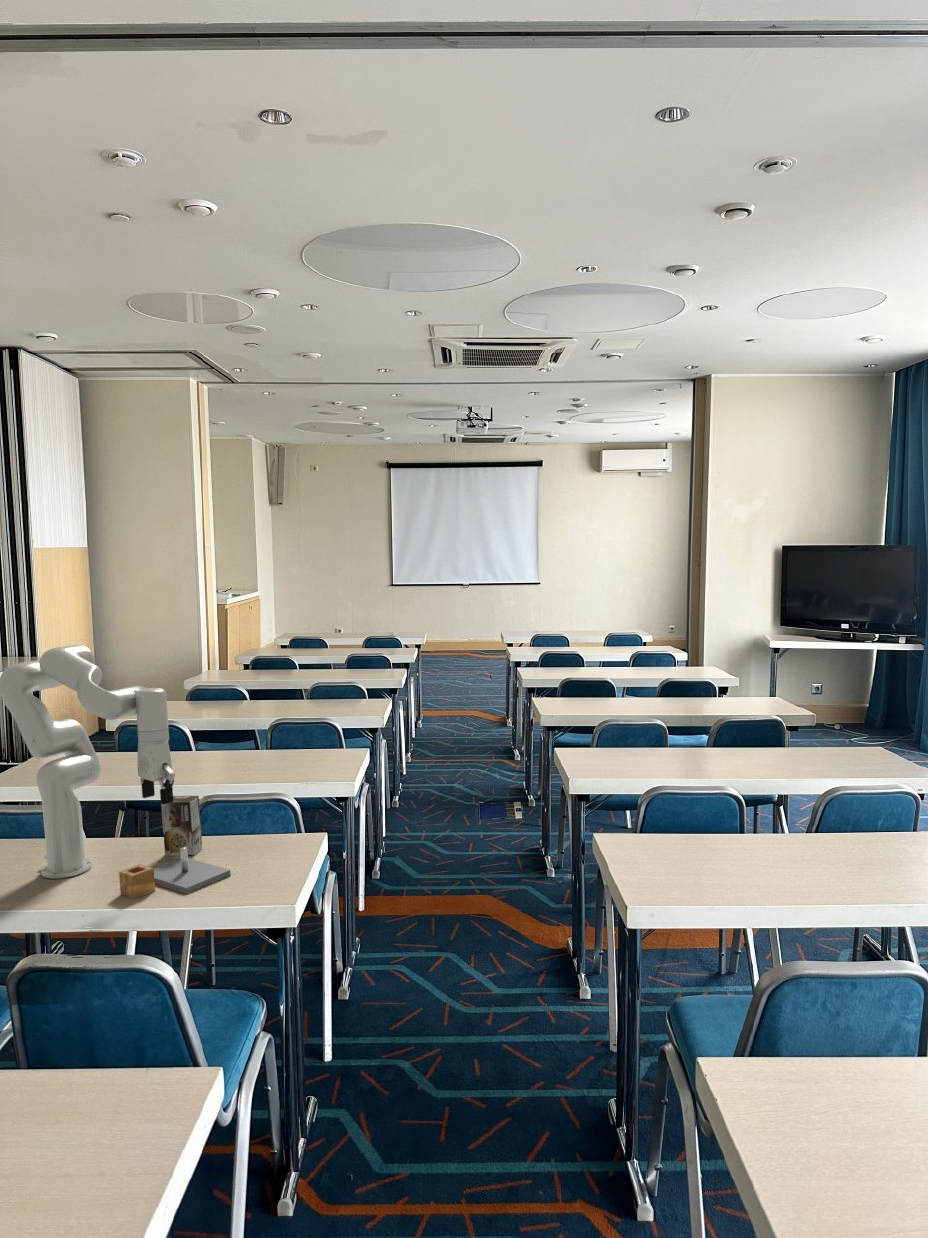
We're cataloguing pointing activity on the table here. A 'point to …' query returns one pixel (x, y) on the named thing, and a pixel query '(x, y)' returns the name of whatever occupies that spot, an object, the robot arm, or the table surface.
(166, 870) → the grey rectangular slab
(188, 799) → the coffee box
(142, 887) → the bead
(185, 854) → the rod
